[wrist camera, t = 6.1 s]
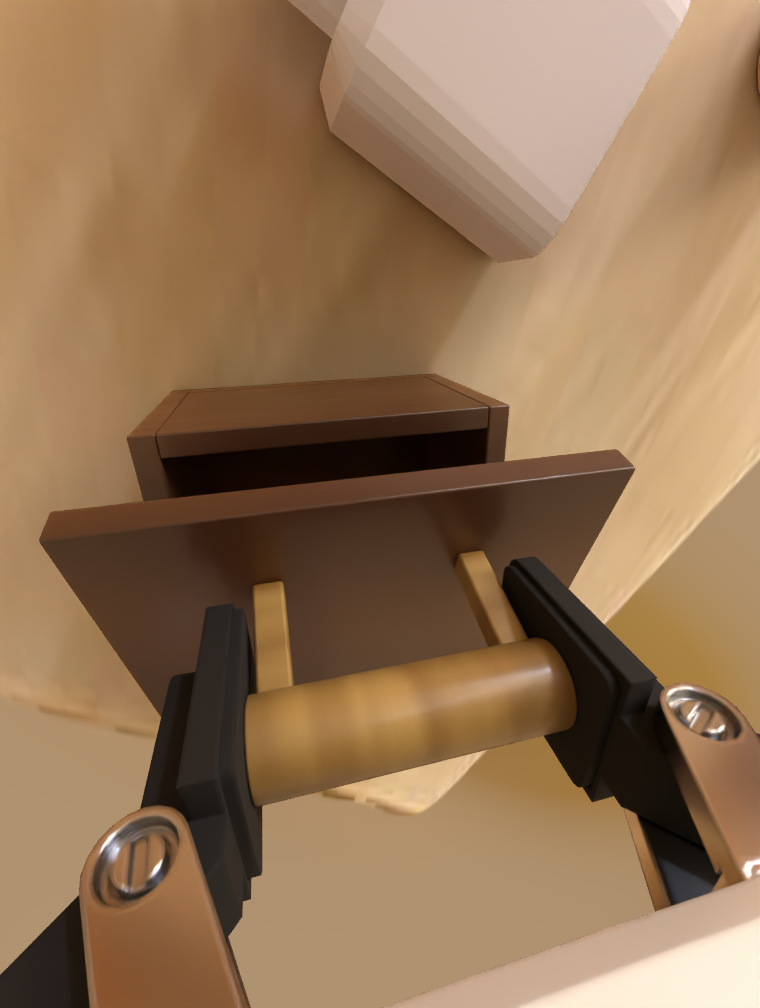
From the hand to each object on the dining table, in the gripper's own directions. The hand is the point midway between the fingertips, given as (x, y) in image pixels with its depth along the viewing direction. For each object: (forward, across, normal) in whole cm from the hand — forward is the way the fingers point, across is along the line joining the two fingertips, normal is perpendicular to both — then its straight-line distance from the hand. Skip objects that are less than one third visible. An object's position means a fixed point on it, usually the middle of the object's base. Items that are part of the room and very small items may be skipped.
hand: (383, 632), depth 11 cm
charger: (+15, -5, -16) cm, 22 cm away
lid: (+3, 0, +4) cm, 5 cm away
